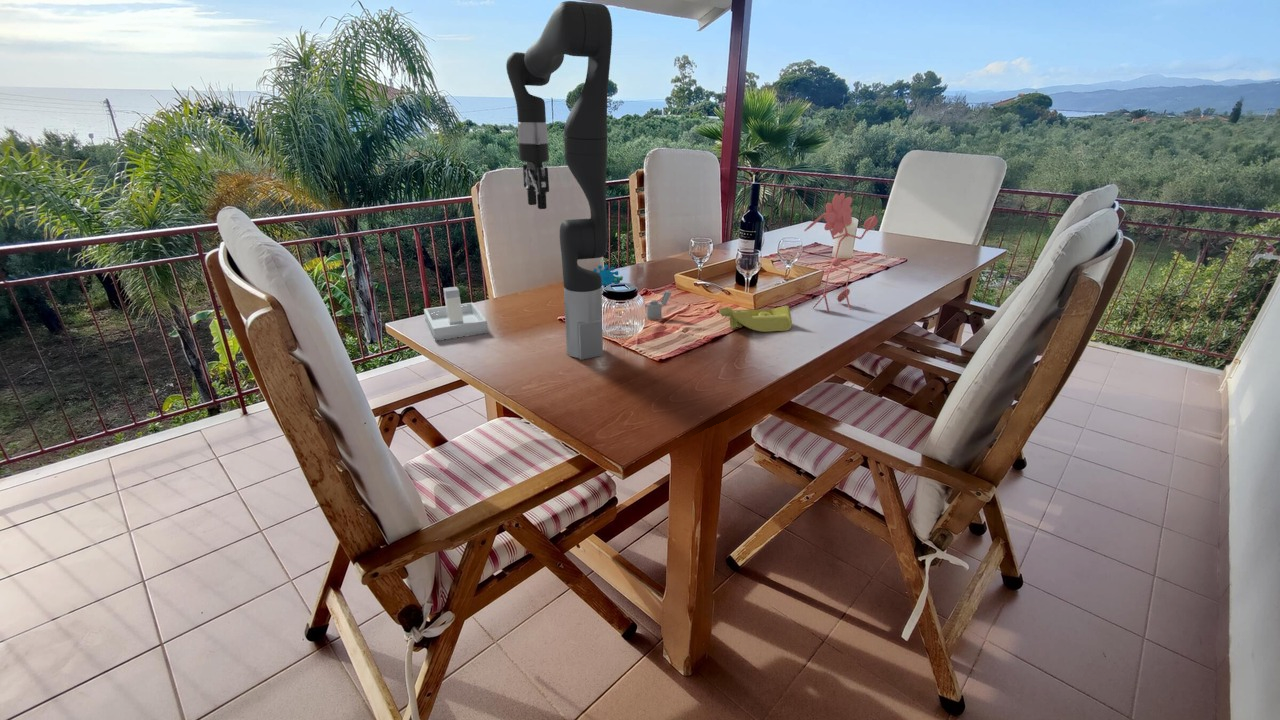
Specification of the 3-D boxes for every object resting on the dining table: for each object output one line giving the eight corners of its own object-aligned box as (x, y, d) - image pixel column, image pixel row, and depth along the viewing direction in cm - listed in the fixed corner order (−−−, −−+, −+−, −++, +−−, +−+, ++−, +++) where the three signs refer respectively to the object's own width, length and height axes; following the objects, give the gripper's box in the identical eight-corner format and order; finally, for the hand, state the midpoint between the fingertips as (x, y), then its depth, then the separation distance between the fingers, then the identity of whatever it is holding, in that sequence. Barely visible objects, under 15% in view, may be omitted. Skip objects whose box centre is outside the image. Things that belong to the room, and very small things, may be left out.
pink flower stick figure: (870, 305, 176) (889, 193, 162) (811, 318, 165) (826, 198, 151) (834, 294, 189) (849, 188, 175) (777, 304, 177) (788, 193, 164)
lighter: (648, 318, 163) (648, 293, 159) (646, 317, 164) (647, 291, 161) (670, 317, 164) (671, 291, 161) (668, 315, 166) (669, 289, 163)
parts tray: (488, 332, 151) (486, 320, 149) (435, 341, 145) (433, 328, 143) (474, 313, 165) (472, 302, 164) (425, 320, 159) (423, 308, 158)
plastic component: (771, 309, 165) (791, 304, 156) (773, 333, 165) (793, 330, 155) (713, 311, 158) (730, 306, 149) (715, 336, 158) (732, 333, 149)
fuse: (463, 324, 154) (459, 289, 150) (450, 326, 152) (445, 291, 148) (460, 320, 157) (456, 286, 153) (447, 322, 155) (443, 288, 151)
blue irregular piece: (590, 286, 186) (592, 261, 190) (589, 295, 192) (591, 270, 196) (622, 290, 188) (623, 265, 192) (620, 298, 194) (621, 274, 197)
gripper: (511, 141, 144) (516, 204, 150) (527, 142, 132) (531, 211, 139) (538, 141, 147) (542, 203, 154) (556, 142, 136) (559, 209, 142)
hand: (537, 206), depth 146 cm, fingers open, 8 cm apart
